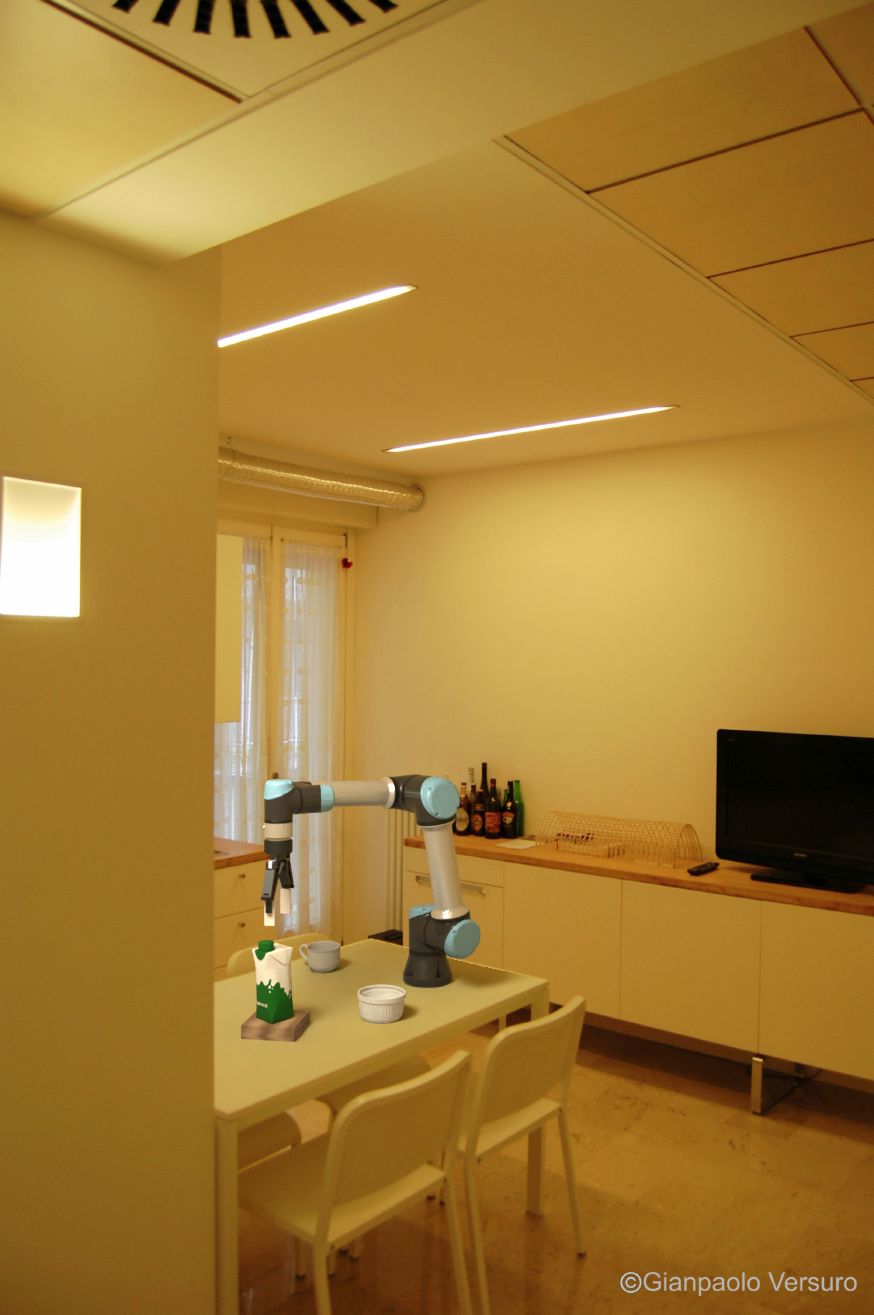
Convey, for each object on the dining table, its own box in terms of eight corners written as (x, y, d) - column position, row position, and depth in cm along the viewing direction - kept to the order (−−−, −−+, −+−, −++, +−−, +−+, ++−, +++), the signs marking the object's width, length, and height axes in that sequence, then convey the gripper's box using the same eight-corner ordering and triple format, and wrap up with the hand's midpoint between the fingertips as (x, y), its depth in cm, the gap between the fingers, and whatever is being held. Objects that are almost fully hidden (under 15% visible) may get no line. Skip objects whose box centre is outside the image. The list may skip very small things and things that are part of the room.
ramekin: (414, 1014, 264) (415, 989, 264) (388, 1029, 252) (388, 1002, 253) (375, 1006, 271) (375, 981, 271) (347, 1020, 259) (347, 994, 259)
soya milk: (251, 1018, 250) (248, 941, 251) (279, 1008, 257) (276, 933, 257) (271, 1025, 244) (268, 947, 245) (299, 1015, 251) (296, 939, 251)
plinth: (309, 1025, 256) (309, 1010, 256) (293, 1044, 242) (294, 1028, 243) (259, 1022, 258) (259, 1007, 259) (241, 1041, 245) (241, 1025, 245)
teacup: (347, 968, 307) (347, 943, 308) (325, 977, 298) (326, 951, 298) (313, 962, 315) (313, 937, 315) (291, 970, 305) (291, 944, 306)
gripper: (279, 831, 266) (278, 908, 265) (248, 845, 242) (248, 930, 241) (305, 831, 265) (304, 909, 264) (277, 846, 240) (277, 931, 240)
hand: (277, 919), depth 253 cm, fingers open, 13 cm apart
